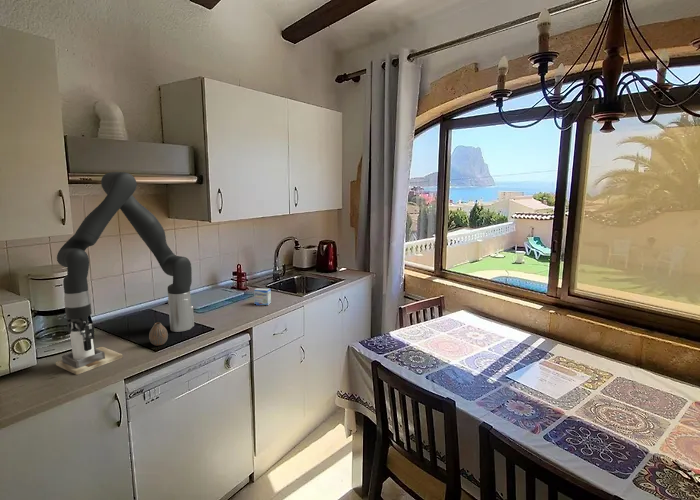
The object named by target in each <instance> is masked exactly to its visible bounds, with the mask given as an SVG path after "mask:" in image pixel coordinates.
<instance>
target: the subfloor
mask: <svg viewBox="0 0 700 500" xmlns="http://www.w3.org/2000/svg"><path fill="white" fill-rule="evenodd" d="M94 352H95V355H92V356H89V357H86V358H83V359H80V360H75V359H73V352H72V351H71V352H68V353H67V354H63V355H61V360H58V361H56V362H55V366H56V367H58V368H61V369H64V370H66V371H68V372H70V373H72V374H73V375H76V376H77V375H80V374H82V373H85V372H89V371H91V370H93V369H94V370H95V369H96V368H99V367H102V366H104V365H106V364H107V365H108V364H109V363H111V362H115V361H117V360H120V359H123V358H124V356H123V353H119V352H117V351H115V350H112V349H109V348H107V347H105V346H99V347H96V348H95V347H94Z"/></svg>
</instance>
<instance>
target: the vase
mask: <svg viewBox="0 0 700 500" xmlns="http://www.w3.org/2000/svg"><path fill="white" fill-rule="evenodd" d="M168 336H169V334H168V330H167V328H166V327H165V326H164V325H163V324H162V322H155V323H154V324H153V326H152V328H151V329H150V330H149V334H148V339H149V342H150V343H151V344H152V345H154V347H155V346H156V347H157V346H162V345H164V344H165V343H166V342H167V341H168V338H169V337H168Z"/></svg>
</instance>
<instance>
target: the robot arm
mask: <svg viewBox="0 0 700 500" xmlns="http://www.w3.org/2000/svg"><path fill="white" fill-rule="evenodd" d="M100 181H101V182H100V183H101V188H102V190H103V191H104V193H105V194H106V196H105V198H104V199H103V200H102V201H101V202H100V203H99V204H98V205H97V206H96V207H95V208H94V209H93V210H92V211H90V212H89V213H88V214H87V215H86V217H85V218H84V219H83V220H82V222H81V223H80V225H79V226H78V228H77V230H76V231H75V233H74V234H73V235H72V236H71V237H70V238H69V239H68V240H67V241H66V242H65V243H64V244H63V245H62V246H61V248H60V249H59V250H58V253H57V254H56V261H57V263H58V264H59V265H60V266H61V267H65V268H67V269H66V270H67V271H66V272H67V273H66V274H67V275H65V276H64V277H63V280H62V285H63V293H64V295H63V296H64V297H63V300H64V311H65V317H66V319H65V321H66V325H67V331H68V334H69V335H70V333H71V329H73V330H74V329H76V330H78V331H79V332H80V335H82V336H83V342H84V350H85V351H88V350H91V349H92V346H91V339H93V340H94V339H95V324H94V322H90V321H89V317H90V316H91V315H92V313H93V311H92V304H91V296H90V291H89V285H88V284H89V283H88V274H89V269H90V258H89V255H88V253H87V252H86V249H88V248H89V247H93V246H95V244H96V243H97V242H98V240H99V239H100V237H101V235H102V234H103V232H104V230H105V229H106V228H107V226H108V225H109V223H110V222H111V221H112V219H113V218H114V216H116V213H118V211H119V210H120V211H121V212H122V213H123V215H124V216H125V218H126V219H127V221H129V224H130V225H131V226H132V227H133V229H134V230H135V232H136V233H137V235H138V236H139V237H140V239H141V240H142V241H143V243H144V244H145V245H146V246H147V247H148V249H149V251H150V252H151V253H152V254H153V257H154V258H155V259H156V261H157V262H158V264H159V267H160V268H161V270H162V271H163V273H164V274H166V275H167V276H170V277H172V283H171V284H169V285H168V286H167V301H168V314H169V328H170V329H169V330H170V331H171V332H175V333H177V332H178V333H180V332H185V331H189V330H191V329H193V327H195V318H194V306H193V305H192V297H191V285H192V280H193V278H192V275H193V271H192V262H191V260H190V259H189V258H187V257H185V256H180V255H176V254H175V253H174V252H173V251H172V250H171V248H170V247H169V245H168V243H167V238H166V237H167V235H166V232H165V229H164V227H163V226H162V224H161V223H160V221H159V220H158V218H157V217H156V215H154V214H153V213H152V212H151V211H150V210H148V208H146V207H145V206H144V205H142V204H141V203H140V202H139V201H138V199H136V198H135V196H134V193H135V192H136V190H137V186H138V185H137V184H138V182H137V180H136V178H135V177H134V176H133V175H132V174H131V173H129V172H125V171H111V172H107V173H105V174H104V175H102V177H101V180H100ZM83 330H85V332H82V331H83ZM90 333H91V334H90ZM84 334H85V335H84ZM88 335H89V336H88Z"/></svg>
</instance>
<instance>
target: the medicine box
mask: <svg viewBox="0 0 700 500" xmlns="http://www.w3.org/2000/svg"><path fill="white" fill-rule="evenodd" d="M253 293H254V294H253V295H254V296H253V297H254V298H253V300H254V301H253V303H254V304H256V305H255V306H260V305H269V304H270V303H272V299H271V298H272V297H271V296H272V295H271V293H272V292H271V288H262V287H256V288H254V291H253ZM254 304H253V305H254ZM270 305H271V304H270ZM270 305H269V306H270Z"/></svg>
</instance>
